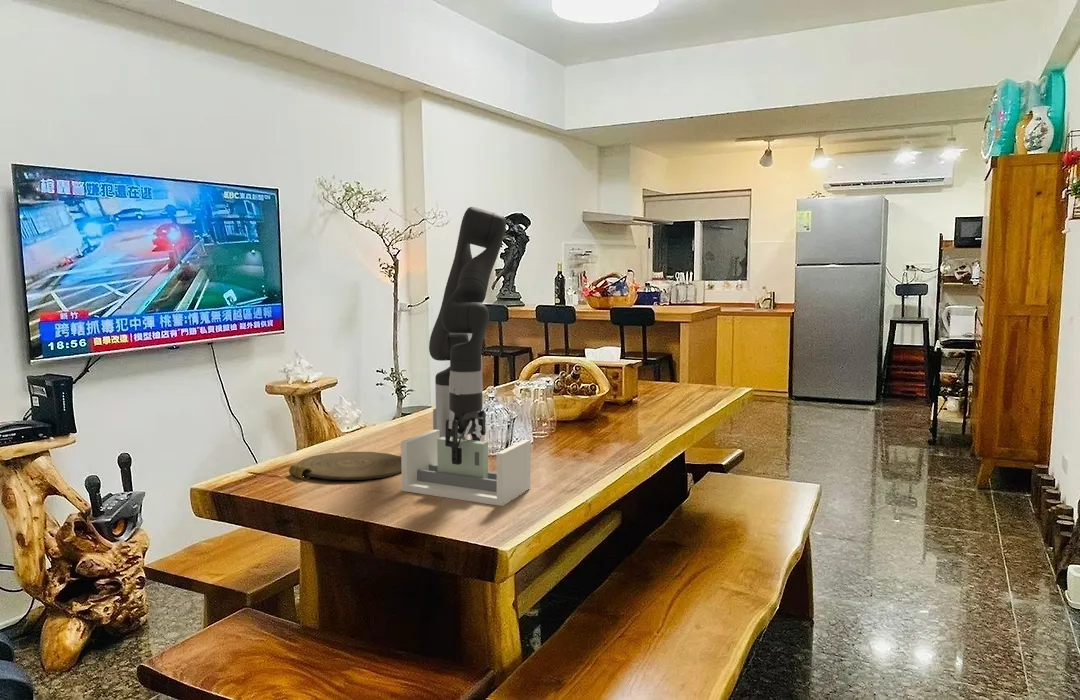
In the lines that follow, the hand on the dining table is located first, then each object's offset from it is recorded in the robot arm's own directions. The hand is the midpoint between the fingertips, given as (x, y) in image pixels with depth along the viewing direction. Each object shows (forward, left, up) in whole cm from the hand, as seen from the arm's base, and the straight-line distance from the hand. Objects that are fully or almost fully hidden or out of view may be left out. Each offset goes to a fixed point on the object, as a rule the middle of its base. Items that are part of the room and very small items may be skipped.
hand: (466, 459), depth 171 cm
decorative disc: (-36, +4, -8) cm, 37 cm away
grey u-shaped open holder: (0, 0, -7) cm, 7 cm away
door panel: (-1, 0, -6) cm, 6 cm away
